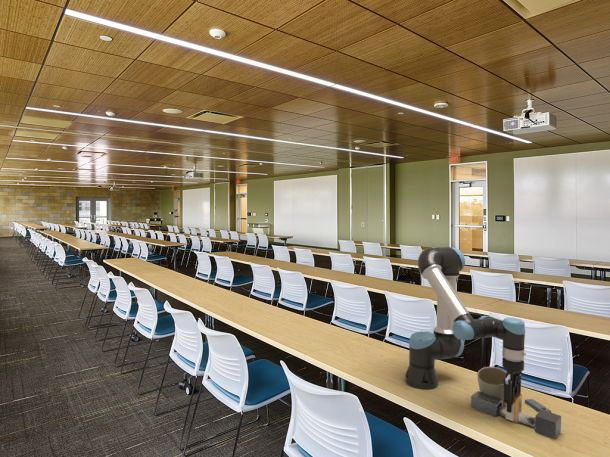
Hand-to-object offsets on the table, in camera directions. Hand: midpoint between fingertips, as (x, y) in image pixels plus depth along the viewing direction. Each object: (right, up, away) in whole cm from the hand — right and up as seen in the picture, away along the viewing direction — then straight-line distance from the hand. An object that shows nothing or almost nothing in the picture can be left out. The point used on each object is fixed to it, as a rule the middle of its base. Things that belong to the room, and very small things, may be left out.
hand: (511, 417), depth 150 cm
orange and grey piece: (-1, -1, +1) cm, 2 cm away
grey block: (-7, 0, +7) cm, 10 cm away
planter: (0, +1, +14) cm, 14 cm away
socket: (+8, -1, -9) cm, 12 cm away
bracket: (+15, -1, +9) cm, 18 cm away
